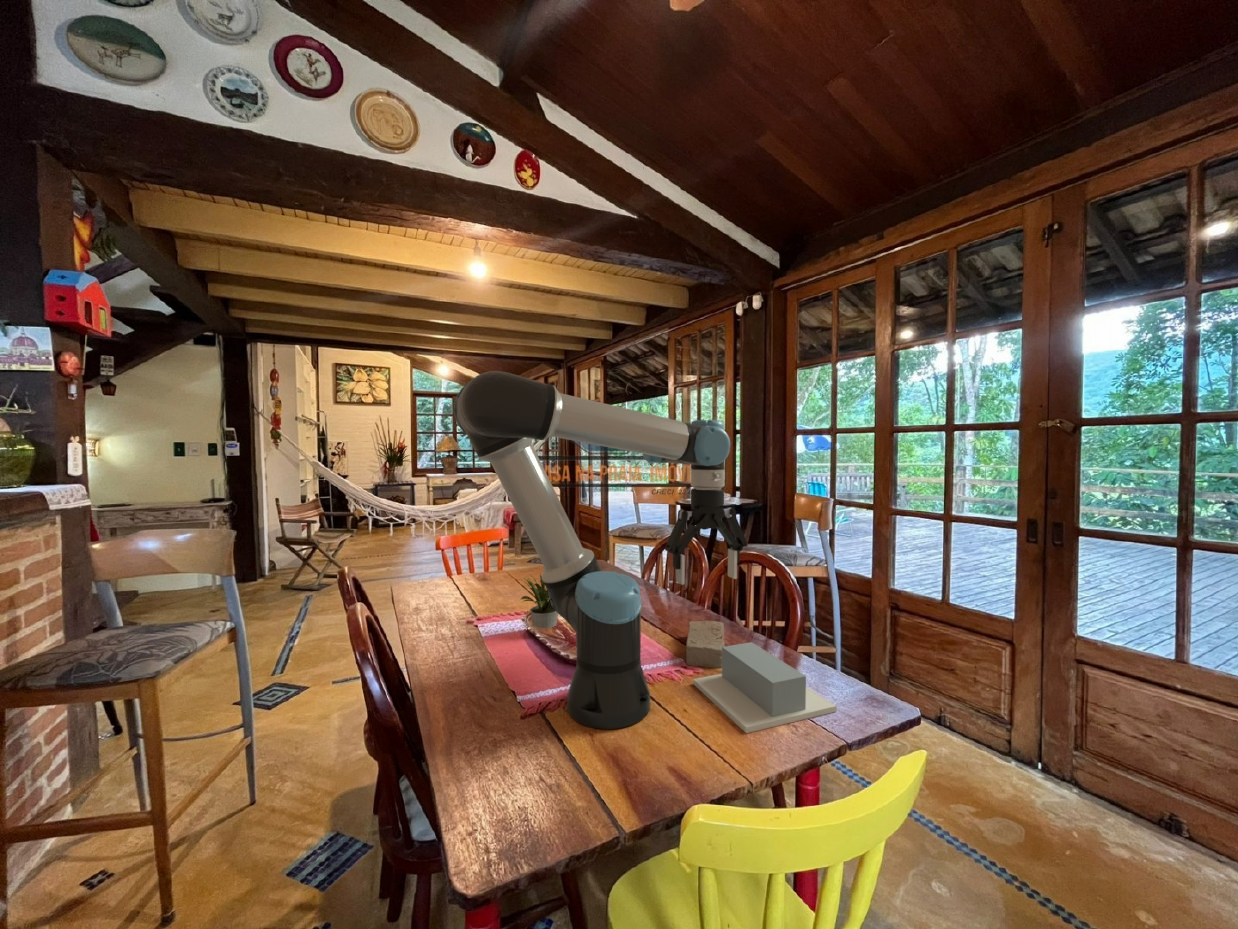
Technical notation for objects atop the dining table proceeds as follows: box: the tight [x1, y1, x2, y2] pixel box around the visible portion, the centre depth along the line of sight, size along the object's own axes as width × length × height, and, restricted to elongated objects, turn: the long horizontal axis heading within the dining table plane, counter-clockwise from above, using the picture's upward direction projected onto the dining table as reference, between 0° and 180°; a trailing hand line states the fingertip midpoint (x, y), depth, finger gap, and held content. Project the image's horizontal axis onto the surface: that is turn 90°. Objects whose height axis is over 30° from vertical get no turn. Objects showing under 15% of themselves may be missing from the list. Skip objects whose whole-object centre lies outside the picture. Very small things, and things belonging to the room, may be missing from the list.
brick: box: [685, 620, 726, 669], centre depth 115 cm, size 17×8×5 cm, turn 169°
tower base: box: [692, 641, 838, 734], centre depth 94 cm, size 19×18×7 cm
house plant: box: [517, 573, 559, 629], centre depth 124 cm, size 14×14×16 cm
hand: (706, 580), depth 114 cm, fingers open, 13 cm apart
